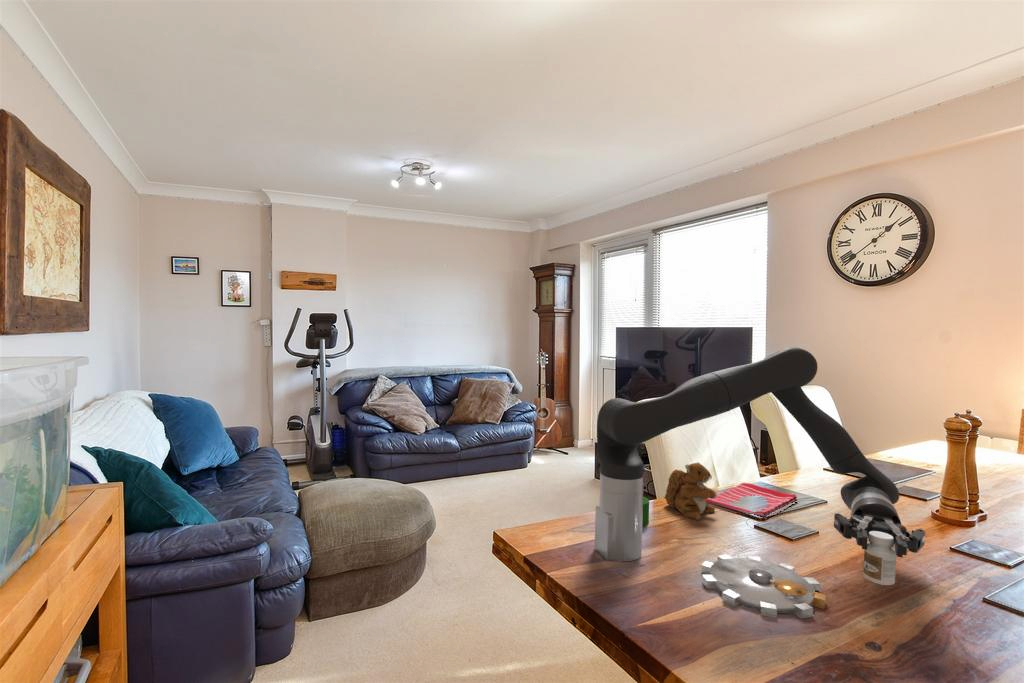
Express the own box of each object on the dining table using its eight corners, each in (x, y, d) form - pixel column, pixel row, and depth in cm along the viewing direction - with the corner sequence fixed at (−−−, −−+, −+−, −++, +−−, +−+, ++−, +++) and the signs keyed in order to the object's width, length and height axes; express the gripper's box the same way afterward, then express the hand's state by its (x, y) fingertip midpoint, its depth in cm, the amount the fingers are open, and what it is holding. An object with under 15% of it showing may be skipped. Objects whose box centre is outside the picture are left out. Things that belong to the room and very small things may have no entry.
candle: (649, 517, 133) (650, 479, 132) (647, 529, 125) (648, 488, 124) (617, 512, 135) (618, 475, 135) (613, 524, 127) (614, 484, 127)
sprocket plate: (755, 626, 84) (756, 611, 84) (679, 567, 105) (679, 555, 105) (854, 609, 90) (854, 595, 90) (763, 556, 111) (763, 545, 110)
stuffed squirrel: (699, 522, 130) (701, 470, 130) (654, 506, 141) (655, 458, 141) (721, 513, 136) (723, 464, 136) (675, 499, 147) (677, 453, 147)
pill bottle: (856, 573, 89) (859, 529, 89) (880, 573, 89) (882, 529, 89) (876, 586, 85) (879, 540, 84) (901, 586, 85) (904, 540, 85)
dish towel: (799, 504, 147) (800, 494, 146) (764, 523, 131) (764, 513, 131) (740, 488, 159) (740, 480, 159) (701, 505, 144) (701, 495, 144)
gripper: (832, 489, 103) (832, 515, 88) (922, 504, 95) (939, 535, 81) (830, 526, 103) (830, 558, 88) (920, 544, 95) (936, 582, 81)
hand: (882, 547), depth 85 cm, fingers closed on pill bottle, 4 cm apart
